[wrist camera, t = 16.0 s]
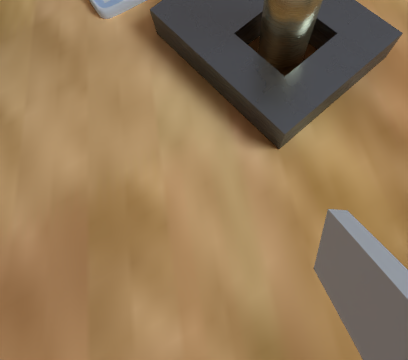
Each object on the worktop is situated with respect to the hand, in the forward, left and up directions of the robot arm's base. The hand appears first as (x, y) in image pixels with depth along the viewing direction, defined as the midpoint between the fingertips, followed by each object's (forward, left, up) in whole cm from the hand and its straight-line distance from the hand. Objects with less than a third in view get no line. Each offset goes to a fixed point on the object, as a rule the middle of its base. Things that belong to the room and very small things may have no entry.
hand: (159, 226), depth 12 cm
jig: (-11, +18, -14) cm, 25 cm away
